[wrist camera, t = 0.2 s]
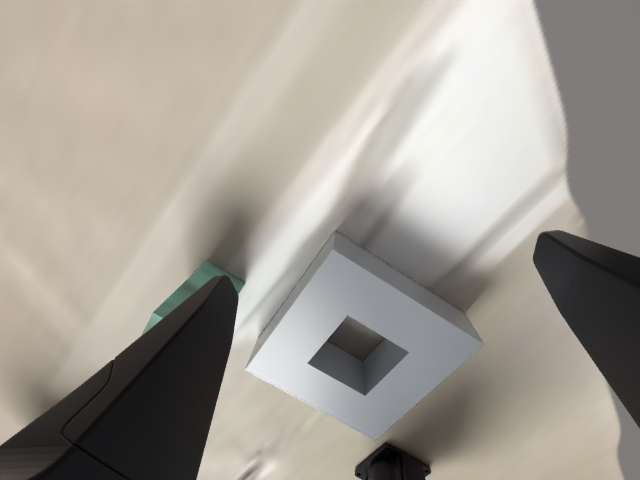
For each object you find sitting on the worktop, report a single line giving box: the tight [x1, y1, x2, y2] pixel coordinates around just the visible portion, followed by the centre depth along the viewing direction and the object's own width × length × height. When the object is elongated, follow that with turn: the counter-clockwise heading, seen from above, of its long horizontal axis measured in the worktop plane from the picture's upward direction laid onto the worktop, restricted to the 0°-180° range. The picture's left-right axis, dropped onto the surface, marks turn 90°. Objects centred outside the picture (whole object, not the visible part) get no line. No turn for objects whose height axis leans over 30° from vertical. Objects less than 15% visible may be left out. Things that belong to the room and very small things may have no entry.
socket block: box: [245, 231, 484, 440], centre depth 26 cm, size 14×14×4 cm
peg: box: [142, 261, 245, 335], centre depth 24 cm, size 4×4×8 cm
